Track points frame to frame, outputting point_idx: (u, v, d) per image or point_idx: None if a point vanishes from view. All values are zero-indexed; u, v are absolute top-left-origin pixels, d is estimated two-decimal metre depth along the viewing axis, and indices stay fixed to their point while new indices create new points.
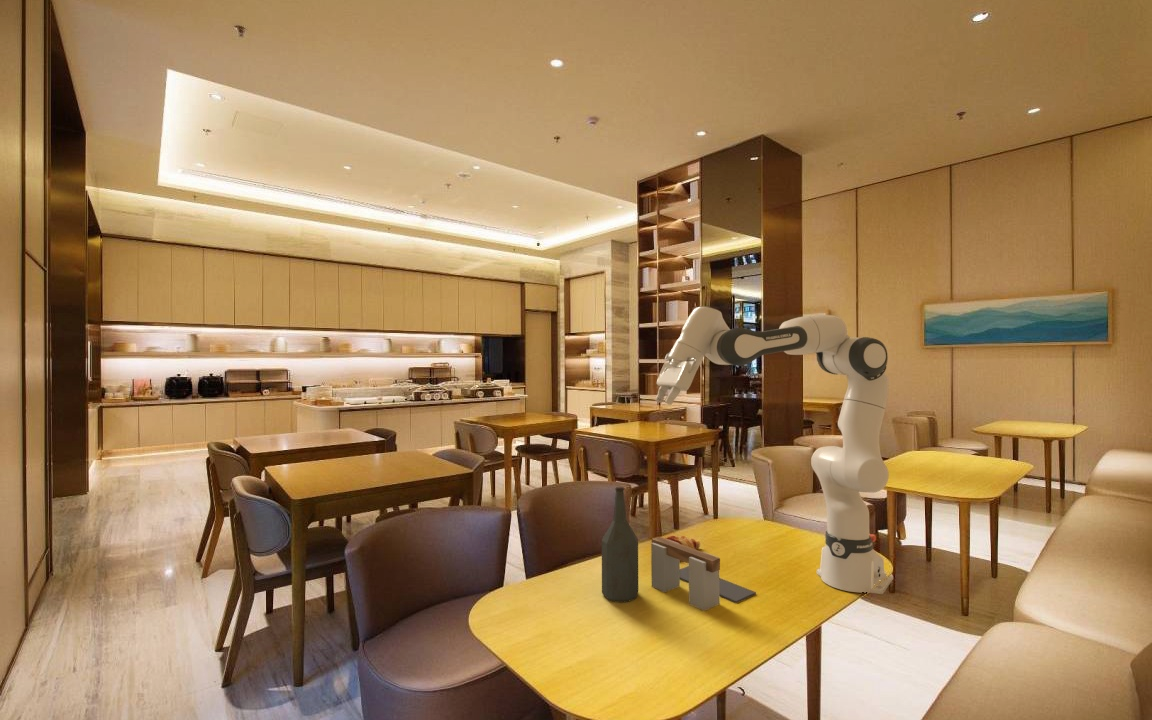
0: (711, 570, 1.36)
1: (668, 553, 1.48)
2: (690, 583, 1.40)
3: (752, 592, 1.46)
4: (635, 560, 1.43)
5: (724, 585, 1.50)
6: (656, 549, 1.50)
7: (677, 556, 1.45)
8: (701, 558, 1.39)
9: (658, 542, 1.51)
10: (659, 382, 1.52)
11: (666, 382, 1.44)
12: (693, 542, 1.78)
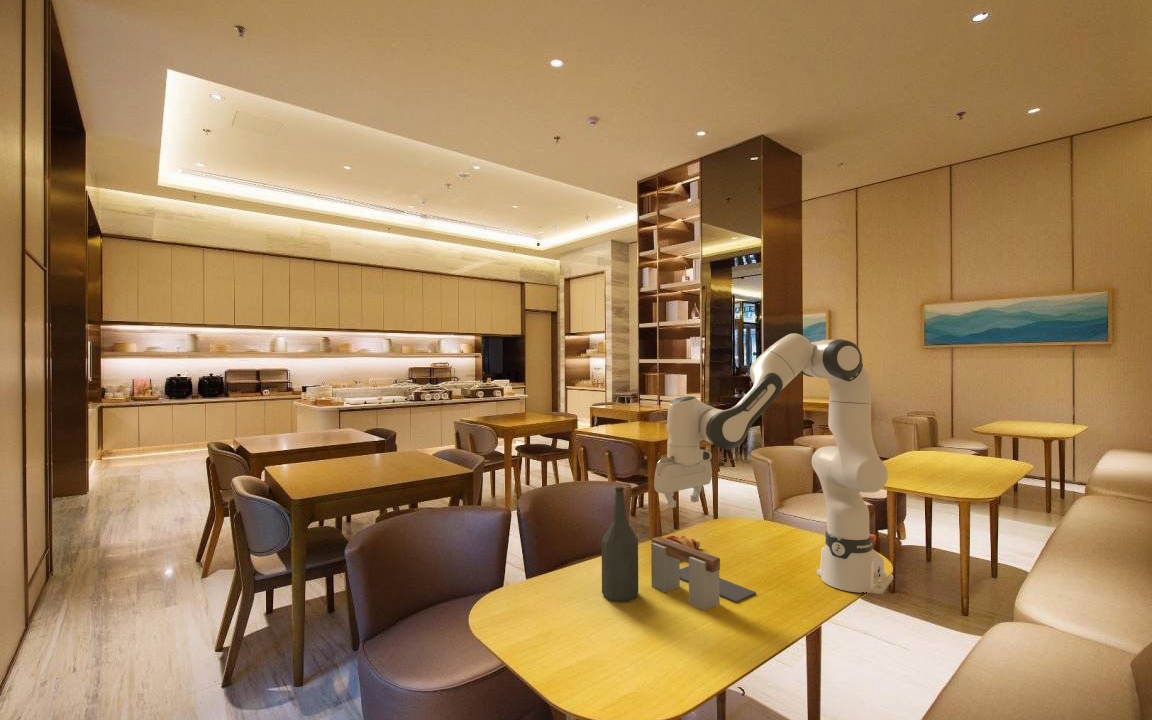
0: (711, 570, 1.36)
1: (668, 553, 1.48)
2: (690, 583, 1.40)
3: (752, 592, 1.46)
4: (635, 560, 1.43)
5: (724, 585, 1.50)
6: (656, 549, 1.50)
7: (677, 556, 1.45)
8: (701, 558, 1.39)
9: (658, 542, 1.51)
10: None
11: None
12: (693, 542, 1.78)
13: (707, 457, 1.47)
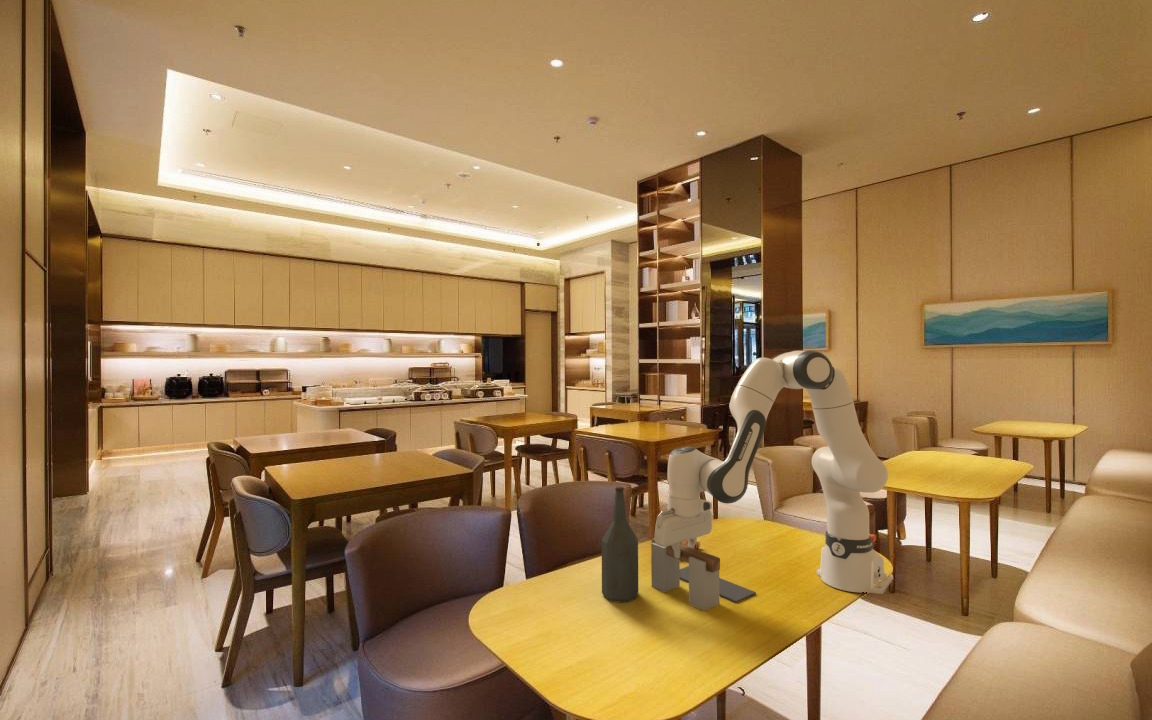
0: (711, 570, 1.36)
1: (668, 553, 1.48)
2: (690, 583, 1.40)
3: (752, 592, 1.46)
4: (635, 560, 1.43)
5: (724, 585, 1.50)
6: (656, 549, 1.50)
7: None
8: (701, 558, 1.39)
9: None
10: None
11: None
12: None
13: (707, 507, 1.47)
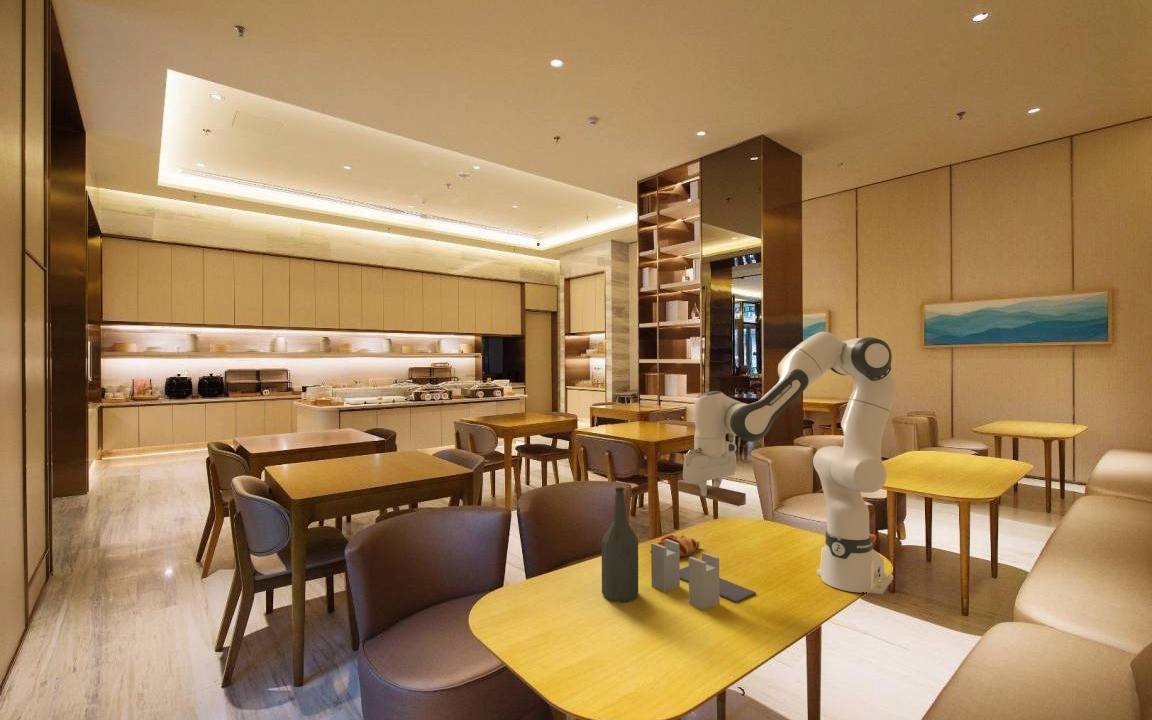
0: (737, 504, 1.43)
1: (694, 493, 1.55)
2: (690, 583, 1.40)
3: (752, 592, 1.46)
4: (635, 560, 1.43)
5: (724, 585, 1.50)
6: (656, 549, 1.50)
7: None
8: (727, 494, 1.46)
9: (684, 483, 1.58)
10: None
11: None
12: (692, 542, 1.79)
13: (732, 449, 1.54)
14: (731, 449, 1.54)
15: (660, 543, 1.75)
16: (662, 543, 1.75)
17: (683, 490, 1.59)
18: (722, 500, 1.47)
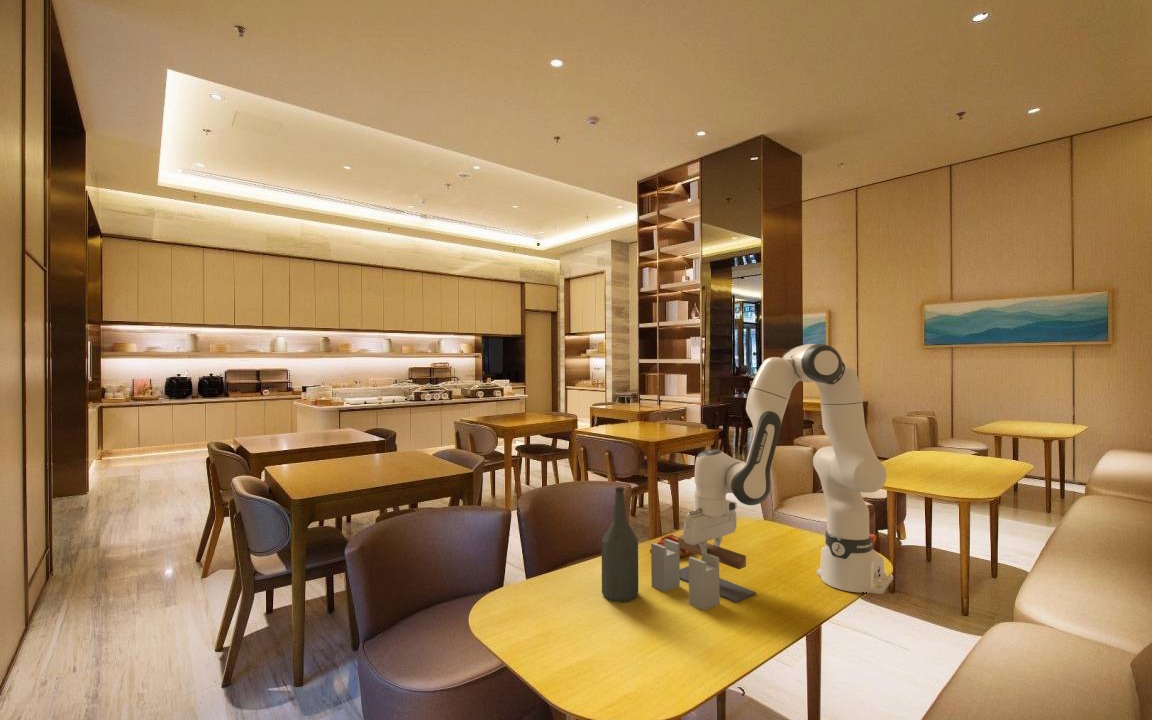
0: (738, 567, 1.43)
1: (695, 551, 1.55)
2: (690, 583, 1.40)
3: (752, 592, 1.46)
4: (635, 560, 1.43)
5: (724, 585, 1.50)
6: (656, 549, 1.50)
7: None
8: (727, 555, 1.46)
9: None
10: None
11: None
12: None
13: (733, 508, 1.54)
14: (731, 508, 1.53)
15: (660, 543, 1.75)
16: (662, 543, 1.75)
17: (683, 547, 1.59)
18: (722, 561, 1.47)
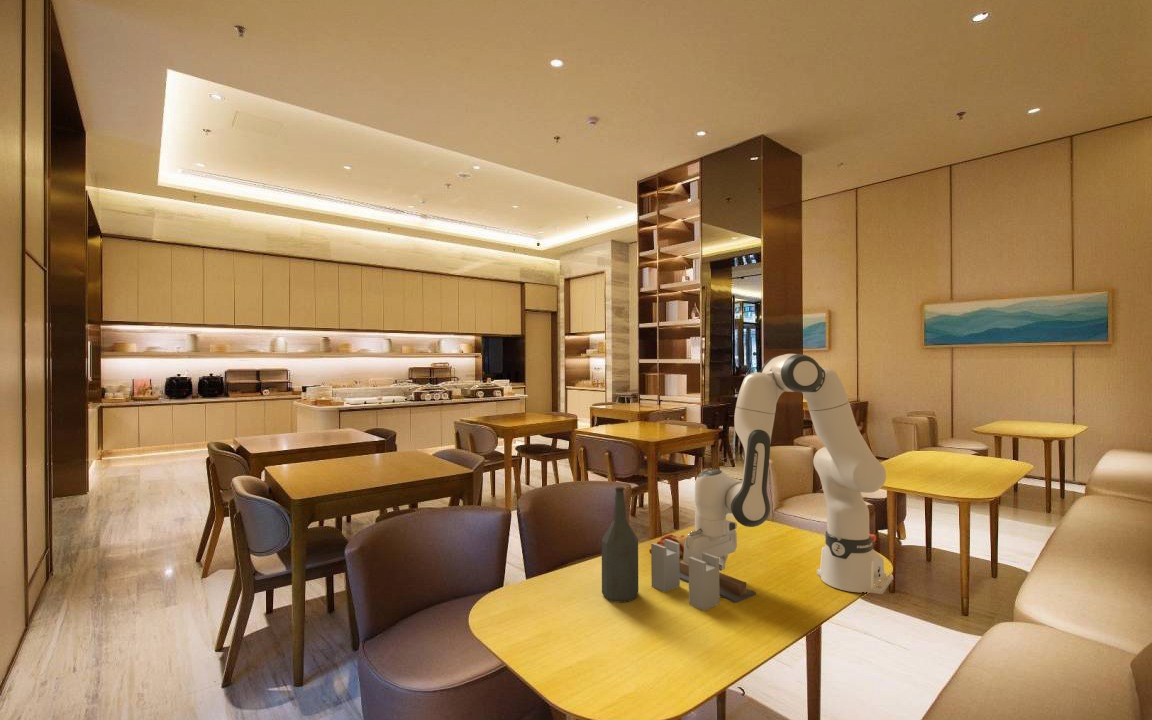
0: (738, 594, 1.43)
1: None
2: (690, 583, 1.40)
3: (752, 592, 1.46)
4: (635, 560, 1.43)
5: None
6: (656, 549, 1.50)
7: None
8: (728, 582, 1.46)
9: (685, 565, 1.58)
10: None
11: None
12: None
13: (733, 527, 1.54)
14: (732, 528, 1.53)
15: (659, 542, 1.76)
16: (661, 542, 1.75)
17: (684, 572, 1.58)
18: (723, 588, 1.47)
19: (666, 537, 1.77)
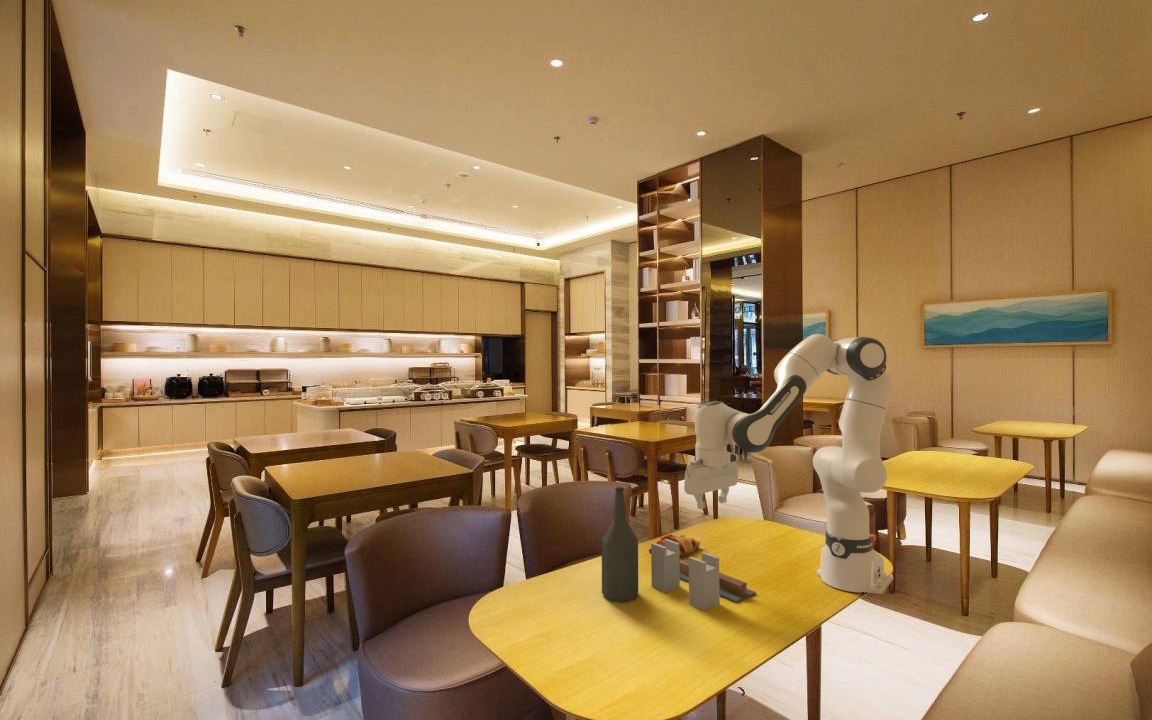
0: (738, 594, 1.43)
1: None
2: (690, 583, 1.40)
3: (752, 592, 1.46)
4: (635, 560, 1.43)
5: None
6: (656, 549, 1.50)
7: None
8: (728, 582, 1.46)
9: (685, 565, 1.58)
10: None
11: None
12: (692, 541, 1.79)
13: (734, 459, 1.52)
14: (733, 459, 1.52)
15: (659, 542, 1.76)
16: (661, 542, 1.75)
17: (684, 572, 1.58)
18: (723, 588, 1.47)
19: (666, 537, 1.77)
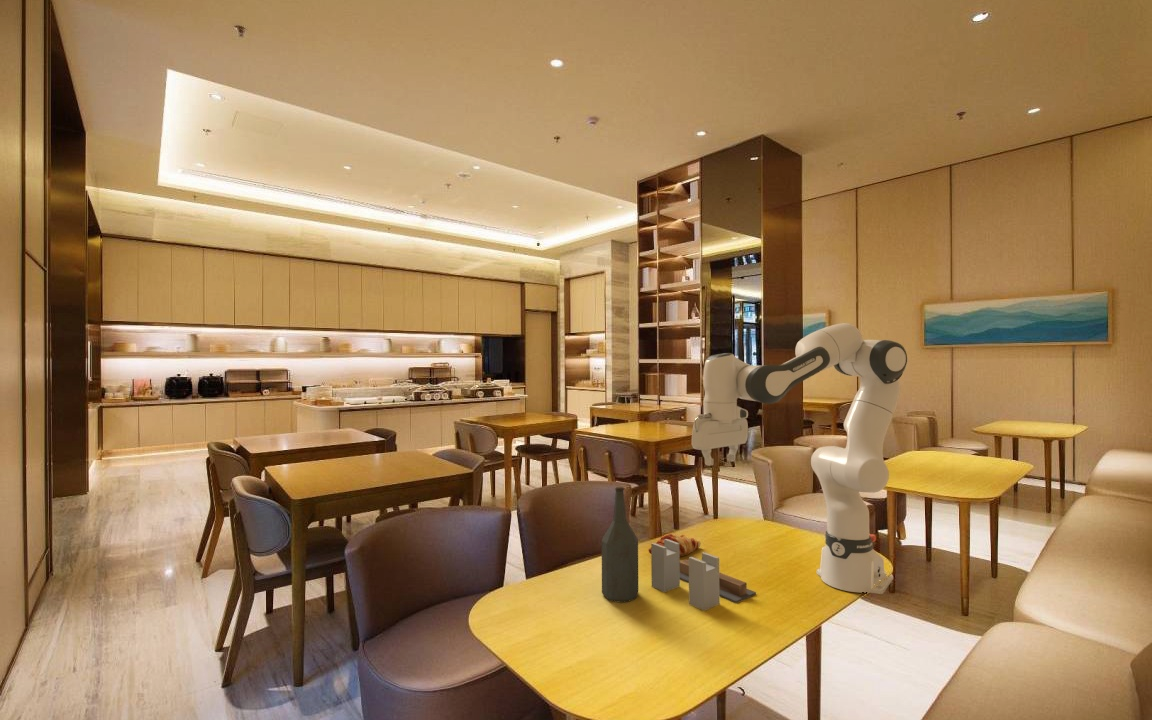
0: (738, 594, 1.43)
1: None
2: (690, 583, 1.40)
3: (752, 592, 1.46)
4: (635, 560, 1.43)
5: None
6: (656, 549, 1.50)
7: None
8: (728, 582, 1.46)
9: (685, 565, 1.58)
10: None
11: None
12: (692, 541, 1.79)
13: (744, 415, 1.44)
14: (743, 415, 1.44)
15: (659, 542, 1.76)
16: (660, 542, 1.76)
17: (684, 572, 1.58)
18: (723, 588, 1.47)
19: (666, 537, 1.77)
